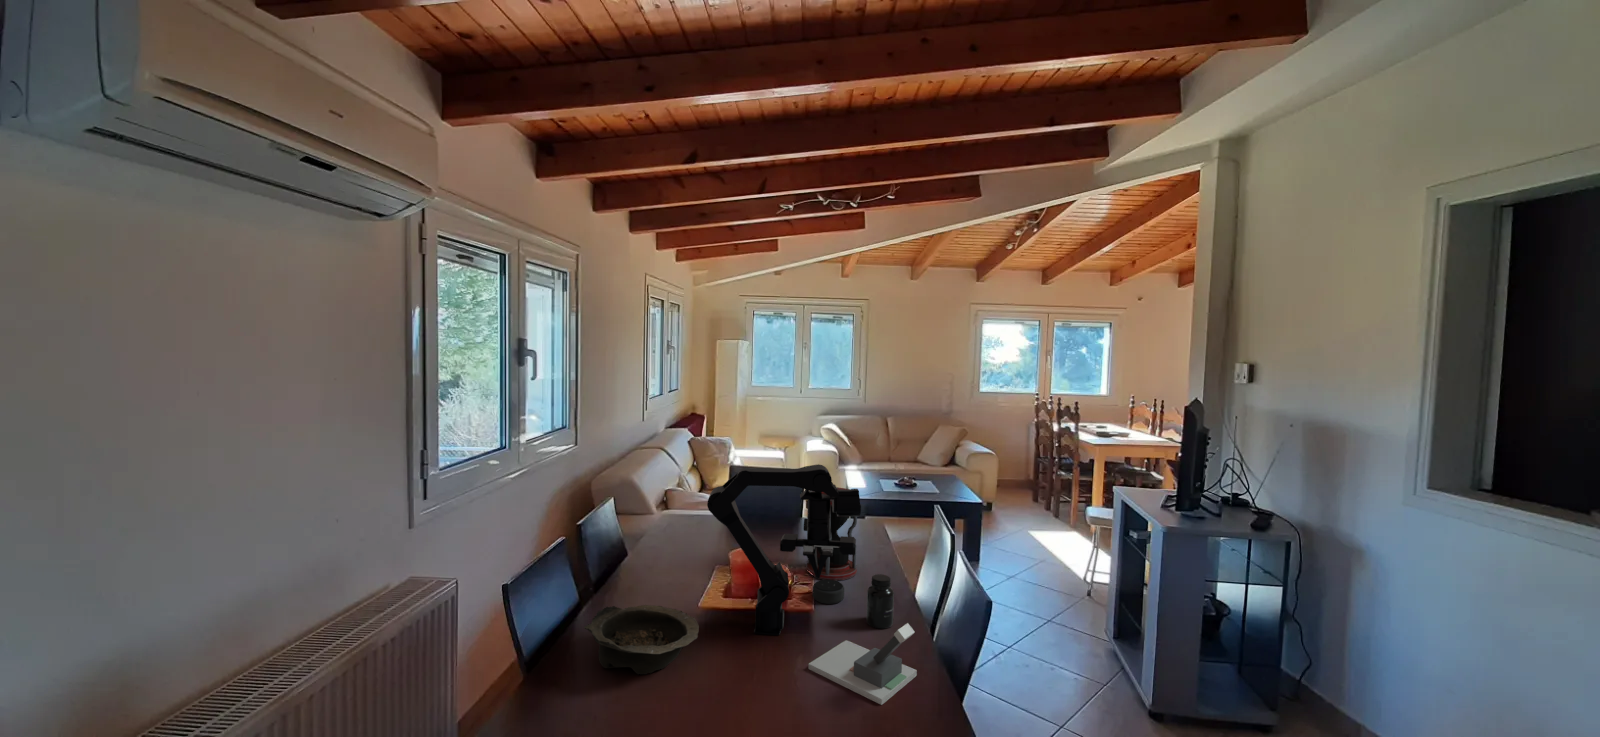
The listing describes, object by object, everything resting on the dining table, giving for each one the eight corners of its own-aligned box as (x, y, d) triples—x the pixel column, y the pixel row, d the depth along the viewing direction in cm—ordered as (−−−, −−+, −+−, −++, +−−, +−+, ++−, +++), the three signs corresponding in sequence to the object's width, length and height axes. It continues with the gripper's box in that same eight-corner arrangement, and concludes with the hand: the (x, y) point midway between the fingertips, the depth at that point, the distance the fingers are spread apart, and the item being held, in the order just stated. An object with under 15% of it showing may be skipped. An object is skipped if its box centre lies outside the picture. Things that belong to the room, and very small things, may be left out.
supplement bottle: (892, 631, 146) (893, 584, 146) (865, 627, 148) (866, 581, 147) (893, 618, 153) (894, 573, 152) (867, 615, 154) (868, 571, 154)
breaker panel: (808, 668, 128) (808, 650, 128) (846, 644, 139) (846, 627, 139) (881, 705, 116) (882, 684, 116) (916, 675, 126) (917, 656, 126)
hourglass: (860, 564, 190) (861, 488, 189) (853, 583, 175) (855, 501, 174) (811, 559, 194) (813, 485, 193) (801, 577, 178) (802, 497, 177)
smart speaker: (844, 606, 160) (845, 591, 160) (812, 605, 160) (812, 591, 160) (843, 592, 169) (843, 578, 169) (812, 591, 169) (812, 578, 169)
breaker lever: (871, 656, 123) (897, 629, 119) (881, 649, 126) (907, 623, 122) (878, 665, 122) (905, 639, 118) (888, 658, 125) (914, 632, 121)
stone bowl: (560, 671, 125) (562, 628, 125) (633, 628, 148) (635, 592, 149) (657, 697, 116) (658, 650, 116) (719, 647, 139) (720, 608, 140)
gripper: (856, 508, 153) (855, 567, 153) (786, 505, 155) (785, 563, 155) (855, 521, 141) (854, 584, 142) (780, 518, 144) (779, 580, 144)
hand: (817, 577), depth 146 cm, fingers closed
